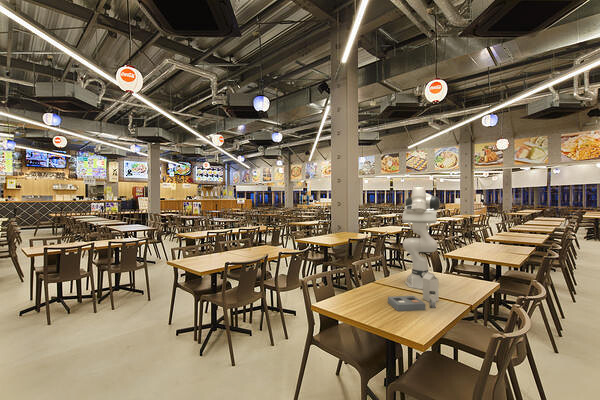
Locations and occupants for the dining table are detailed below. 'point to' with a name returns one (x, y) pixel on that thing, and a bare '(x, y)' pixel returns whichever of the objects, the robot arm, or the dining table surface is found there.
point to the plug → (432, 299)
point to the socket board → (406, 303)
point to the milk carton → (430, 286)
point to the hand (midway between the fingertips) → (419, 229)
